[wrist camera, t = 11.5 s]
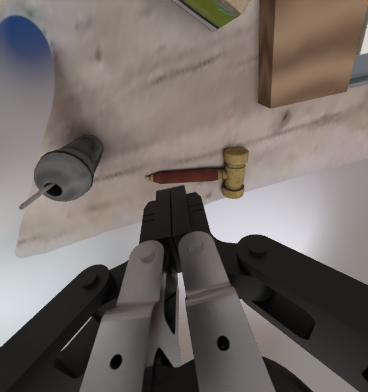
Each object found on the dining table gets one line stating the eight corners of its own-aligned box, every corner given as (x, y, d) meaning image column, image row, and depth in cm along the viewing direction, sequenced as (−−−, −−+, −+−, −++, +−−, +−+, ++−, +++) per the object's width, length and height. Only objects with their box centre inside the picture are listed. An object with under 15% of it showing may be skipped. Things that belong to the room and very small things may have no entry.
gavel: (147, 204, 43) (139, 161, 37) (150, 192, 47) (143, 152, 41) (245, 198, 42) (251, 154, 37) (240, 187, 46) (245, 145, 40)
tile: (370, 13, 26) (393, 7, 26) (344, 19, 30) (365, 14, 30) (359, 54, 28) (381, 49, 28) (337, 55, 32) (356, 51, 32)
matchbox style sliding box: (260, -4, 28) (276, -15, 24) (346, -25, 27) (378, -41, 23) (258, 103, 36) (270, 108, 32) (325, 87, 35) (346, 91, 31)
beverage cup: (102, 170, 41) (60, 244, 24) (65, 152, 38) (-12, 222, 22) (116, 140, 38) (79, 202, 21) (77, 119, 35) (-2, 170, 18)
